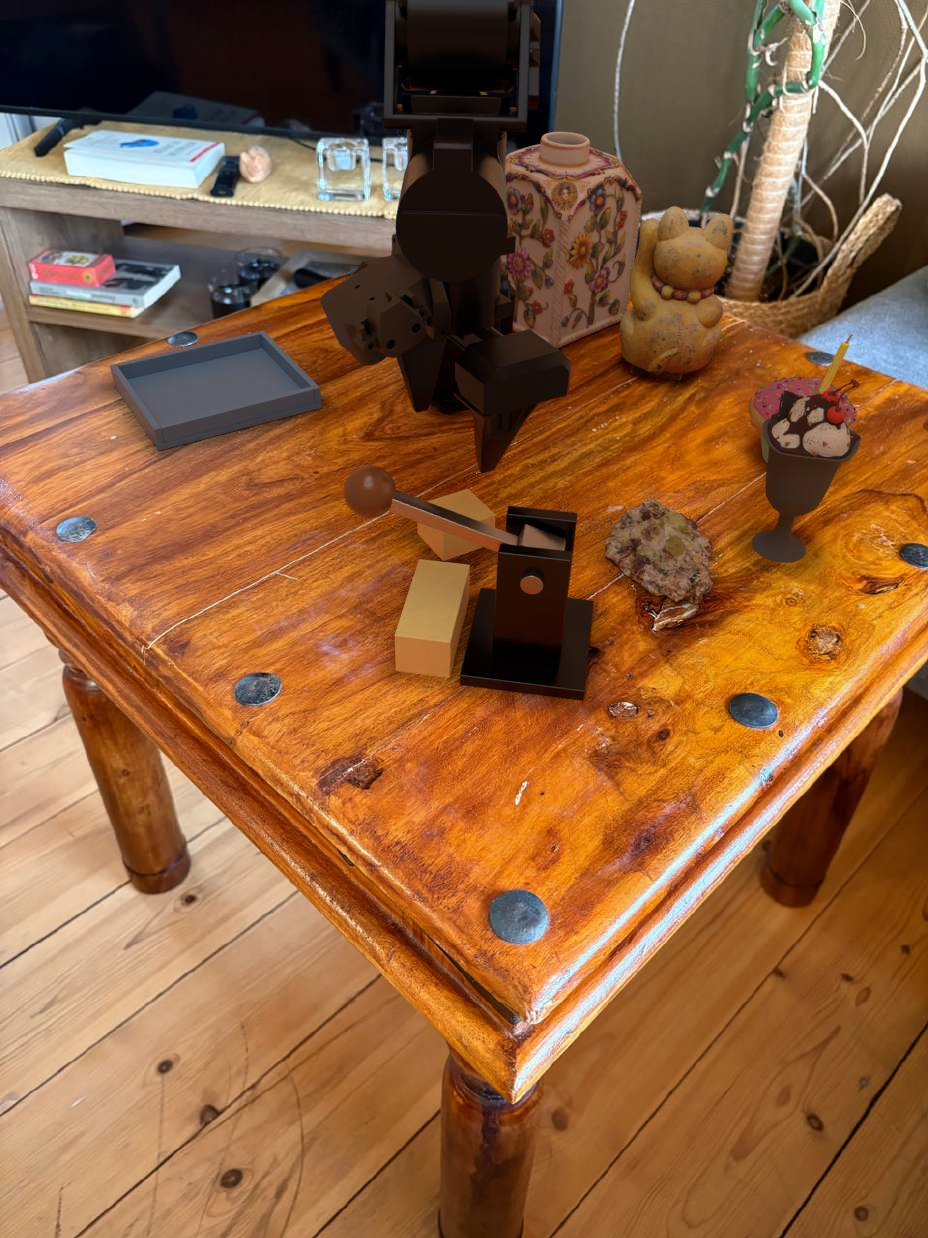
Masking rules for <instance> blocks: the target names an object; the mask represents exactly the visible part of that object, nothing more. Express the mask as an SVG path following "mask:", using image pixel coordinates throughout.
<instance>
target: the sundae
mask: <svg viewBox="0 0 928 1238" xmlns="http://www.w3.org/2000/svg"><path fill="white" fill-rule="evenodd" d="M850 385H851V387H849V388H847V389H845V390H843V389H844V388H846V387H847V386H850ZM860 386H861V384H860V382H858V380H856V379H855V378H851V379H850V382H847V383H846V384H844V385H842V386H840V387H838V389H837V390H835V391H833V390H826V391H824V392H823V394H819V393H816V394H813V395H809V396H806V397H804V396H800V395H797V394H795V393H793V392H790V391H787V390H784V391H783V392H782V394H781V399H780V405H779V412H778V413H776V414H773V415H772V416H771V418H770V419H767V420H766V421H765V422H764V423H763V427H762V429H763V435H764V437H765V439H766V441H767V443H768V445H769V454H768V463H766V473H765V497H766V500H767V501H768V503H769V504H770V506H771V507H772V508H773V510H775V511H776V512H777V513H778V519H777V523H776V525H775V527H774V528H773V530H772V529H771V530H770V529H769V530H762V531H759V532H758V533H755V534H754V535H753V537H752V538H751V547H752V549H753V551H754V552H755V553H756V554H757V555H759V556H760V557H762V558H764V559H766V560H768V561H772V562H775V563H783V564H791V563H797V562H799V561H801V560H803V559H804V558H805V556H806V553H807V548H806V545H805V544H804V542H803V541H802V540H801V539H799V538H798V537H797V536H795V535H794V534H792V531H793V527H794V522H795V519H796V518H798V517H802V516H805V515H807V514H809V513H812V512H814V511H815V510H817V509H818V508H819V506H820V504H821V503H822V501H823V500H824V497H825V496H826V495H827V493H828V491H829V488H830V486H831V484H832V482H833V480H834V478H835V476H836V474H837V472H838V470H839V468H840V466H841V464H842V463H846V462H848V461H850V460H851V459H853V457H855V455H856V453H857V452H858V450H859V448H860V446H861V439H862V437H861V436H860V434H858V433H857V432H855V430H854V429H852V430H851V429H850V428H848V426H847V424H846V423H845V421H844V420H843V419H844V418H845V414H846V413H845V410H843V409H842V408H841V407H839V403H840V400H841V398H842V396H843V395H845V394H846V393H847V392H849V391H850V390H852V389H856V388H860ZM839 390H841V391H842V390H843V391H842V394H841V395H840V397H839V395H838V393H837V392H838V391H839Z"/></svg>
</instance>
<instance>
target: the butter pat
mask: <svg viewBox="0 0 928 1238" xmlns="http://www.w3.org/2000/svg"><path fill="white" fill-rule="evenodd" d="M426 501H427V502H430V503H432V504H435V505H438V506H440V507H443V508H446V509H448V510H451V511H453V512H456V513H459V514H461V515H464V516H466V517H469V518H472V519H474V520H477V521H480V522H482V523H485V524H487V525H490V526H493V527H495V528H496V514H495V513H494V511H492V509H490V508H489V507H488V506H487V505H486V504H485V503H484V502H483V501H482V500H481V499H480V498H479V497H478V496H477V495H475V493H473V492H472V490H471V489H469V488H465V489H462V490H459V491H456V492H451V493H449V494H446V495H443V496H440V497H437V498H434V499H431V500H426ZM416 523H417V525H416V526H417V531H416V532H417V535H418V536H419V537H420V538H421V539H422V541H424V543H426V544H427V545H428V547H429V548H430V549H431V550H432V551H433V552H434V553H435V554H436V555H437V557H438V558H440V560H441V561H442V562H446V561H447V560H451V559H453V558H457V557H459V556H462V555H465V554H468V553H471V552H474V551H476V550H479V549H482V548H483V547H481V546H479V545H476V544H473V543H471V542H468V541H466V540H463V539H460V538H458V537H455V536H452V535H450V534H447V533H444V532H442V531H439V530H437V529H434V528H431V527H429V526H426V525H423V524H421V523H418V522H416Z"/></svg>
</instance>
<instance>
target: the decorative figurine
mask: <svg viewBox="0 0 928 1238" xmlns="http://www.w3.org/2000/svg"><path fill="white" fill-rule="evenodd" d="M638 230H639V241H638V248H637V250H636V251H637V252H636V254H635V260H634V264H633V267H632V270H631V276H630V295H629V296H630V300H631V301H630V302H631V304H632V307H629V308H627V311H626V312H625V314H624V316H623V318H622V320H621V321H620V322H619V323H620V324H619V340H620V341H619V342H620V354H621V356H622V358H623V360H624V361H626V362H628V363H629V364H631V367H630V370H629V373H630V374H638V375H639V374H640V375H645V376H651V377H656V378H661V379H667V380H672V381H675V382H676V381H677V382H679V381H681V380H682V377H683V375H685V374H686V375H687V374H688V373H691V372H696V371H697V370H700V369H703V368H704V367H705V366H706V365H707V364H708V363H709V362H710V360H711V358H712V357H713V355H714V353H715V352H716V350H717V349H718V348H719V346H720V343H721V341H722V336H723V335H722V334H723V330H722V325H721V322H720V320H721V319H722V317H723V315H724V306H723V303H722V301H721V300H720V299H719V298H718V296H717V295H716V294H715V293H714V292H715V288H714V285H715V284H716V283H717V282H718V281H719V280H720V279H721V277H722V276H723V274H724V272H725V270H726V267H727V264H728V249H729V246H730V244H731V243H730V242H731V239H732V236H733V231H734V221H733V218H732V217H731V216H730V215H728V214H726V213H718V214H717V215H715V216H713V217H712V218H711V219H710V220H709V221H708V222H707V224H705V226H704V228H700V227H697V226H690V223H689V220H688V215H687V213H686V211H685V210H683V209H682V207H679V206H677V205H673V206H670V207H669V208H667V209H666V210H665V212H664V213H663V214H662V216H661V218H660V220H659V219H657V218H646V219H644V220H642V221H641V223H639V228H638Z"/></svg>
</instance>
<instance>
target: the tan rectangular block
mask: <svg viewBox="0 0 928 1238" xmlns="http://www.w3.org/2000/svg"><path fill="white" fill-rule="evenodd" d="M470 580H471V565H470V564H465V563H457V562H449V561H442V560H431V559H423V558H422V559H420V558H418V560H417V563H416V567H415V571H414V573H413V577H412V580H411V582H410V586H409V589H408V592H407V595H406V598H405V602H404V605H403V608H402V611H401V613H400V618H399V621H398V624H397V625H396V629H395V633H394V657H395V671H396V672H398V673H407V674H416V675H422V676H423V675H424V676H432V677H439V678H447V679H451V676H452V672H453V667H454V664H455V660H456V656H457V651H458V647H459V643H460V640H461V635H462V630H463V628H464V622H465V618H466V614H467V610H468V606H469V603H470V586H471V585H470V583H471V582H470Z"/></svg>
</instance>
